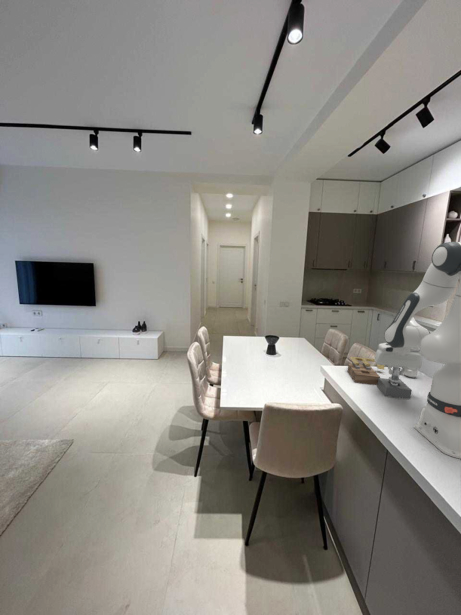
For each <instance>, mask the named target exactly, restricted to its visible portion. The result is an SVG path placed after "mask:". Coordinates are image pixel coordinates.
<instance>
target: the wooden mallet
mask: <svg viewBox="0 0 461 615" xmlns="http://www.w3.org/2000/svg"><path fill="white" fill-rule="evenodd" d="M350 360H351V362H353V363H354V364H355V365H360V362H359V361H361V362H362V364H363V363H364V364H365V365H366V366H371V363H376V362H375V358H369V357H360V356H359V357H358V356H350ZM370 362H371V363H370ZM385 367H386V365H378V364H377V363H376V368H377V369H378V370H385Z"/></svg>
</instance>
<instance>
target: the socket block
mask: <svg viewBox="0 0 461 615" xmlns="http://www.w3.org/2000/svg"><path fill="white" fill-rule="evenodd" d="M347 373H348V374H349V376H350V377H351V379H352V380H353V382H354V383H355V384H364V385H372V386H377V383H378V378H381V376H380V374H378V373H377V372H376V370H374V369H373V367H372V366H371V365H370V366H366V365H365V364H364V363H363V362H362V364H359V365H355V364H354V363H353V361H351V363H348V364H347Z"/></svg>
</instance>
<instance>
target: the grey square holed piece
mask: <svg viewBox="0 0 461 615" xmlns="http://www.w3.org/2000/svg"><path fill="white" fill-rule="evenodd" d="M390 383H391V382H390V381H389V378H383V377H380V378H378V383H377V385H376V387H377V388H378V389H379V391H380V392H381V393H382V395H384V397H388V398H395V399H396V398H397V399H403V400H404V399H405V400H411V399H412V398H411V397H412V390H413V389H411V388H410V387H409V386H408V385H407V384H406V383H404V381H402V380H401V383H400V384H398V386H396V385H391V384H390Z"/></svg>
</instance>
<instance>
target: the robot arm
mask: <svg viewBox="0 0 461 615" xmlns="http://www.w3.org/2000/svg"><path fill="white" fill-rule="evenodd" d="M421 280H422V281H421V282H420V284H419V286H418V287H417V288H416V289H415V290H414V291H413V292H412V293H410V294H409V295H408V296H406V298H405V299H404V301H403V302H402V305H401V306H400V308H399V310H398V311H397V312H396V315H395V317H394V318H393V320H392V321H391V323H390V324H389V325H388V327H387V328H386V329H385V331H384V333H383V339H384V341H385V342H383V343H379V344H378V348H377V350H376V352H375V355H374V359H375V362H374V363H376V365H377V364H378V365H385V366H387V367H386V368H387V369H388V374H389V375H392V374H393V372H394V371H393V366H396V367H399V368H402V369H400V375H399V376H402V377H403V376H404V372H405V371H406V370H407V368H416V369H417V370H418V369H421V368H422V365H423V363H422V362H423V359H422V358H425V359H426V360H427V361H430V362H432V363H438V364H442V365H443V364H444V365H443V366H442V367H441V368H440V369H438V370H437V371H435V372H434V373H433V375H432V379H431V385H430V390H429V391H428V394H427V397H426V398H427V399H426V402H427V403H426V405H424V407H422V409H421V412H420V416H419V419H418V422H417V423H415V424H414V426H413V428H414V429H415V430H416V431H417V432H419V433H420V435H422V436H423V437H425V439H426V440H428V441H429V442H430V443H431V444H432V445H434V447H435V448H437V449H438V450H439V451H440V452H442V453H443V454H444V455H447V456H450V457H453V458H456V459H459V460H461V241H458V242H457V241H448V242H444V243H440V244H439V245H437V247H436V248H435V249H434V251H433V252H432V255H431V262H430V265H429V266H428V268H427V269H426V272H425V274H424V276H423V278H422V279H421ZM458 282H459V283H458ZM457 285H458V287H457ZM456 287H457V289H456ZM455 289H456V292H455V294H454V297H453V300H452V303H451V305H450V309H449V310H448V313H447V315H446V316H445V318H444V319H443V321H442V322H441V323H440V325H439V326H438V327H437V328H436V329H435V330H433V331H432V332H430V330H429V329H428V328H427V327H424V326H422V325H421V324H420V323H418V322H417V321H416V319H415V317H414V315H416V314H417V313H418V312H420V311H421V310H423V309H426V308H429V307H432V306H433V307H434V306H437V305H441V304H443V303H445V302H447V301H448V300H449V299H450V298H451V297H452V295H453V293H454V291H455ZM414 347H415V348H418V349H419V350H418V349H411V348H414Z"/></svg>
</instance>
